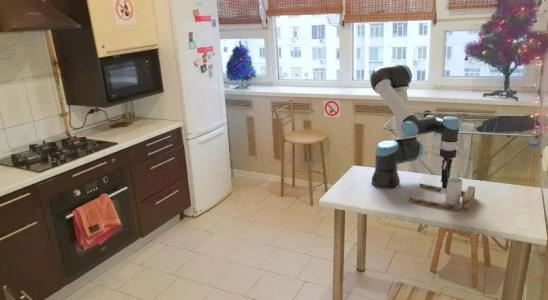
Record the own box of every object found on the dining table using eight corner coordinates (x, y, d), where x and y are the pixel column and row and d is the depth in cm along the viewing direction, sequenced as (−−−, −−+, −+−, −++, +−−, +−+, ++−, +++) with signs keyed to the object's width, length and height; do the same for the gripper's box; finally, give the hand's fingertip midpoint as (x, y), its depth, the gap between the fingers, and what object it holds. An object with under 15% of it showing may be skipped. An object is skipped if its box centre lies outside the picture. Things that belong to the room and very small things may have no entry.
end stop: (460, 210, 201) (461, 198, 199) (466, 196, 214) (467, 185, 212) (468, 211, 199) (469, 200, 197) (474, 197, 212) (475, 186, 210)
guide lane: (409, 201, 212) (409, 198, 211) (420, 186, 228) (420, 183, 227) (460, 211, 199) (460, 207, 198) (468, 195, 215) (468, 191, 214)
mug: (459, 206, 204) (462, 183, 200) (444, 204, 207) (447, 181, 203) (460, 198, 213) (463, 176, 209) (446, 195, 216) (449, 174, 212)
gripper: (454, 153, 196) (449, 199, 204) (459, 145, 207) (454, 190, 214) (437, 151, 200) (433, 196, 208) (443, 143, 211) (439, 187, 218)
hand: (444, 193), depth 211 cm, fingers closed
